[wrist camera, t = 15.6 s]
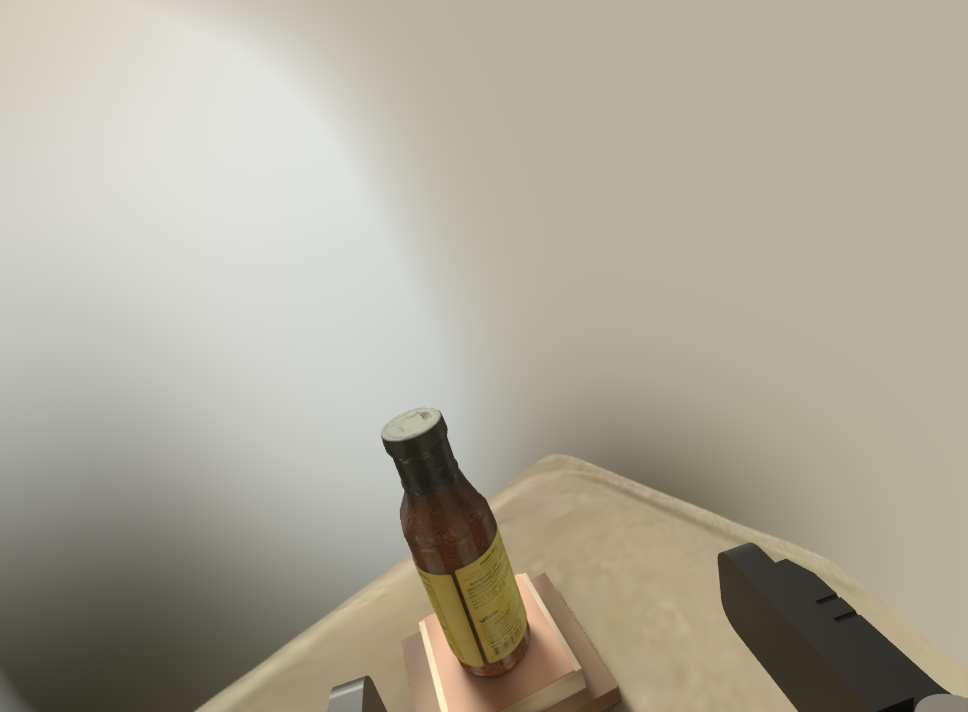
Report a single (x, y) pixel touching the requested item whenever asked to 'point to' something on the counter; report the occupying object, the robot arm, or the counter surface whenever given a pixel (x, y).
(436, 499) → the sauce bottle
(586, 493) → the counter surface
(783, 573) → the robot arm
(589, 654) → the pedestal
